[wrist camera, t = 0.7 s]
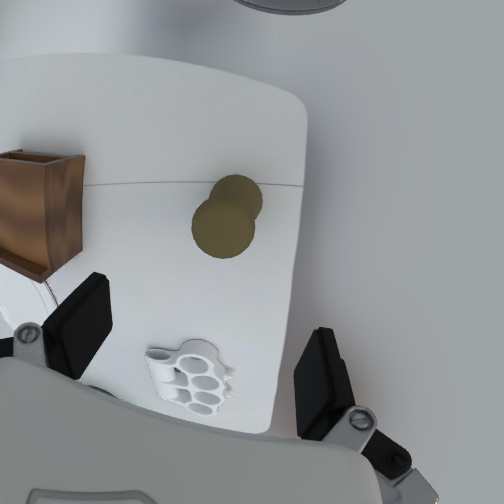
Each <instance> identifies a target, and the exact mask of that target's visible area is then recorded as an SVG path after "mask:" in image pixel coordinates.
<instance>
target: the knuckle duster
mask: <svg viewBox="0 0 504 504" xmlns="http://www.w3.org/2000/svg"><path fill="white" fill-rule="evenodd" d="M217 354H218V350H217V349H216V348H215V347H214V346H213V345H211V344H210V343H208V342H206V341H203V340H189V341H186V342H185V343H184V344H183V345H182V346H181V348H180V350H178V351H169V350H163V349H149V350H147V351H146V352H145V359H147V362H148V365H149V369H150V372H151V378H152V379H153V382H154V385H155V388H156V391H157V392H156V394H157V395H158V396H159V397H160V398H161V399H163V400H166V401H169V402H173V403H178V404H181V405H183V406H185V407H186V408H187V409H188V410H189V411H190V412H192V413H194V414H196V415H199V416H205V417H210V416H214V415H216V414H218V411H219V406H220V405H222V404H223V403H224V401H225V399H226V398H230V397H234V396H233V395H232V394H230V393H229V392H228V391H227V387H228V385H227V384H226V381H227V380H229V379H231V378H232V377H234V376H233V375H231V374H228V373H227V371H226V369H225V367H224V365H222V364H221V363H220V362H219V361H218V359H217ZM191 357H197V358H200V360H198V359H193V358H191ZM174 367H176V368H178V369H179V370H180V371H182V372H179V371H175V370H174ZM184 389H186V390H184ZM187 390H188V391H187Z"/></svg>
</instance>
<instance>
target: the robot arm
mask: <svg viewBox="0 0 504 504" xmlns="http://www.w3.org/2000/svg"><path fill="white" fill-rule="evenodd" d="M112 326H113V322H112V313H111V301H110V287H109V280H108V279H107V278H106V276H105V275H103V274H100V273H97V272H93V273H92V274H91V275H90V276H89V277H88V278H87V279H86V280H85V281H83V282H82V283H81V284H80V285H79V286H78V287H77V288H76V289H75V290H74V291H73V292H72V293H71V294H70V295H69V296H68V297H67V298H66V299H65V300H64V301H63V302H62V303H61V304H60V305H59V306H58V307H57V308H56V309H55V310H54V311H53V312H52V313H51V314H50V316H49V317H48V318H47V319H46V320H45V321H44V322H43V324H42V326H41V327H40V325H38V324H37V323H34V322H27V323H23V324H21V325H20V326H19V327H17V329H16V330H15V332H14V337H10V338H4V339H0V504H438V501H439V498H438V494H437V493H436V491H435V490H434V489H433V488H432V487H431V485H430V484H429V483H428V482H427V481H426V479H425V478H424V477H423V476H422V475H421V474H420V472H419V471H418V470H417V469H416V468H415V469H412V467H411V465H412V459H411V456H410V454H409V452H408V451H407V450H406V449H404V448H403V447H401V446H400V445H398V444H397V443H395V442H394V441H393V440H391V439H390V438H388V437H387V436H386V435H384V434H383V433H381V432H380V431H379V430H377V429H376V427H377V419H376V416H375V415H374V413H373V412H372V411H371V410H370V409H368V408H366V407H364V406H356V404H355V400H354V396H353V392H352V388H351V384H350V380H349V376H348V373H347V369H346V365H345V362H344V360H343V359H341V358H340V354H339V350H338V347H337V343H336V339H335V336H334V332H333V330H332V329H330V328H324V327H319V328H318V330H316V329H315V330H314V331H313V333H312V335H311V337H310V339H309V341H308V344H307V346H306V348H305V350H304V352H303V354H302V356H301V358H300V360H299V362H298V364H297V366H296V368H295V370H294V388H295V403H296V420H297V435H298V436H299V437H301V439H293V438H282V437H274V436H265V435H258V434H251V433H244V432H238V431H232V430H227V429H222V428H217V427H212V426H207V425H203V424H198V423H194V422H190V421H186V420H182V419H178V418H175V417H171V416H168V415H164V414H161V413H158V412H154V411H151V410H148V409H145V408H142V407H139V406H136V405H133V404H131V403H128V402H125V401H122V400H120V399H117V398H115V397H112V396H109V395H107V394H105V393H102V392H100V391H97V390H95V389H93V388H91V387H88V386H86V385H84V384H82V383H79V382H77V381H75V380H76V379H77V380H78V379H80V377H81V376H82V374H83V373H84V371H85V369H86V368H87V366H88V365H89V363H90V362H91V360H92V359H93V357H94V355H95V354H96V352H97V351H98V349H99V348H100V346H101V345H102V343H103V342H104V340H105V339H106V337H107V336H108V335H109V333H110V332H111V330H112Z"/></svg>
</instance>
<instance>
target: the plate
mask: <svg viewBox="0 0 504 504" xmlns="http://www.w3.org/2000/svg"><path fill="white" fill-rule="evenodd" d="M57 307H58V306H57V304H56V302H55V299H54V297H53V295H52V293H51V291H50V289H49V287H48V286H47V284H46V282H45V281H44V282H43V283H42V284H40V283H37V282H35V281H33V280H31V279H29V278H27V277H25V276H23V275H21V274H19V273H17V272H15V271H13V270H11V269H9V268H7V267H6V266H4V265H2V264H0V313H1V315H2V316H3V318H4V319H5V321H6V322H7V323H8V324H9V326H10V327H11V328H12V329H13V330H14V331H15V330H16V329H17V327H19V326H20V325H21V324H23V323H27V322H34V323H37V324H38V325H40V327H41V326H42V324H43V322H44V321H45V320H46V319H47V318H48V317H49V316H50V314H51V313H52V312H53V311H54V310H55V309H56V308H57Z"/></svg>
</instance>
